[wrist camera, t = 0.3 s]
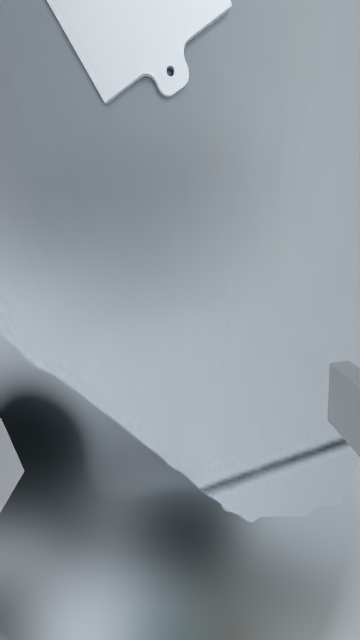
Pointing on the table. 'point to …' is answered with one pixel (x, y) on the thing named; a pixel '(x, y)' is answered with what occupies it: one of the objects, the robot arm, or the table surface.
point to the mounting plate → (135, 39)
